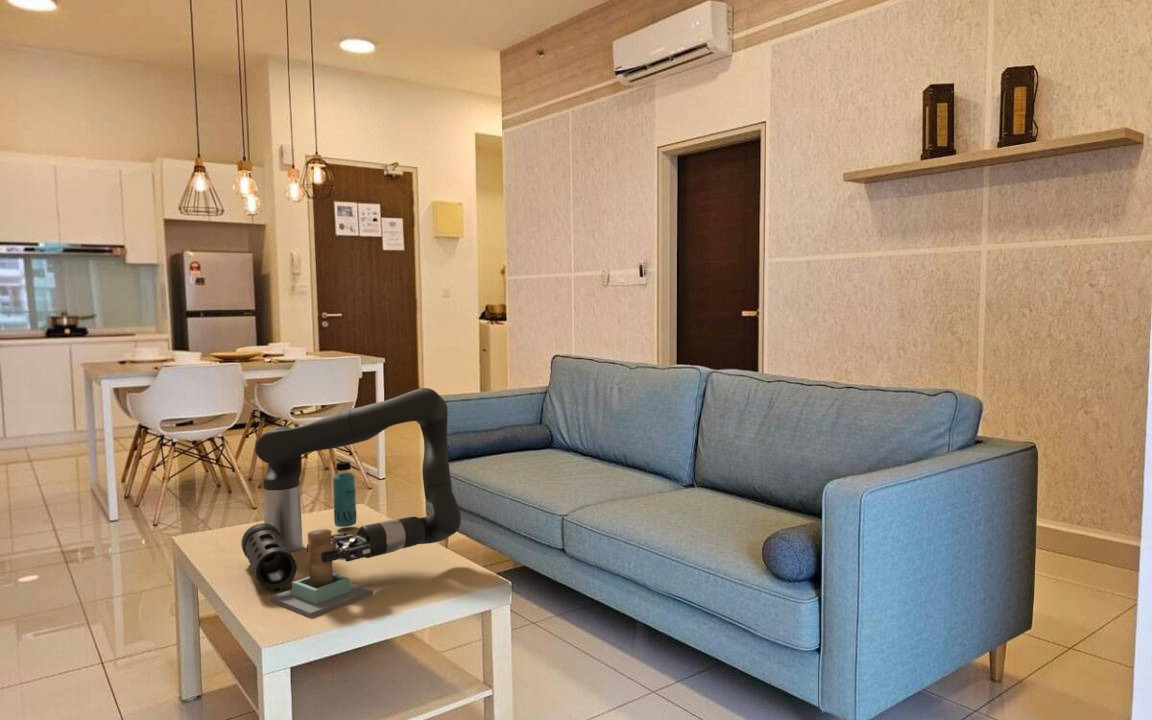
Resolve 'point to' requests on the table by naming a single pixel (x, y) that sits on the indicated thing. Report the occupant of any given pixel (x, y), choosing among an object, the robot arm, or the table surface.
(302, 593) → the socket stand
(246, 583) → the table surface
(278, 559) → the muzzle brake
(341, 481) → the beverage bottle
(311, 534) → the walnut peg
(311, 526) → the table surface
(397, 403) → the robot arm
